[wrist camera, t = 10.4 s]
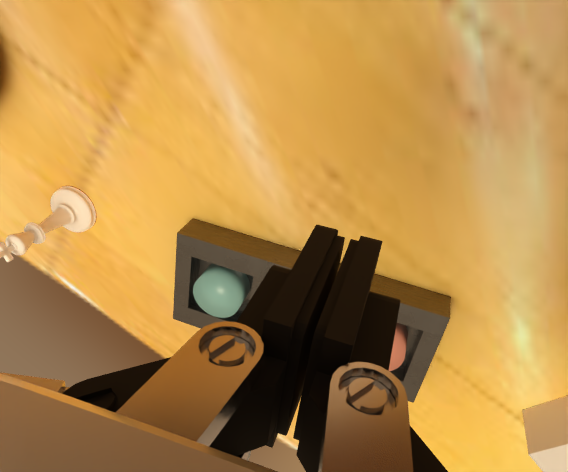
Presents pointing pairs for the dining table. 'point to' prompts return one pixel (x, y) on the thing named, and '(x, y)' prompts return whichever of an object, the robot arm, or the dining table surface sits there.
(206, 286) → the teal button
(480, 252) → the dining table surface
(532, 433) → the white cube
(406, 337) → the brick button
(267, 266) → the button panel
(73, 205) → the chess piece
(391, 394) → the robot arm
